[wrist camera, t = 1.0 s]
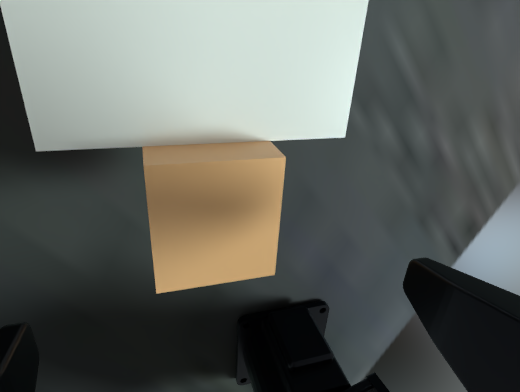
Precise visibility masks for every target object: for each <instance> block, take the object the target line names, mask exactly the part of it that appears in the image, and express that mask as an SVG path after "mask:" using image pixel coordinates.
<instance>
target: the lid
mask: <svg viewBox="0 0 520 392" xmlns="http://www.w3.org/2000/svg"><path fill="white" fill-rule="evenodd" d="M0 6H1V10H2V15H3V19H4V23H5V27H6V31H7V35H8V39H9V43H10V47H11V51H12V55H13V60H14V64H15V68H16V72H17V76H18V80H19V84H20V88H21V92H22V96H23V100H24V104H25V109H26V113H27V117H28V121H29V125H30V129H31V133H32V137H33V141H34V145H35V149H36V151H57V150H79V149H101V148H123V147H143V164H144V175H145V185H146V195H147V205H148V215H149V225H150V234H151V244H152V254H153V264H154V274H155V284H156V294H158V293H164V292H170V291H177V290H183V289H189V288H195V287H202V286H208V285H214V284H220V283H227V282H233V281H239V280H245V279H252V278H258V277H264V276H270V275H275V267H276V256H277V246H278V235H279V225H280V214H281V204H282V193H283V183H284V172H285V162H286V157H285V156H284V155H283V154H282V153H281V152H280V151H279V150H278V149H277V148H276V147H275V146H274V145H273V144H272V143H271V142H270V141H277V140H299V139H321V138H343V137H345V134H346V129H347V123H348V117H349V111H350V105H351V99H352V94H353V88H354V82H355V76H356V70H357V64H358V58H359V53H360V47H361V41H362V35H363V29H364V23H365V18H366V12H367V6H368V0H0Z"/></svg>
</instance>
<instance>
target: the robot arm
mask: <svg viewBox="0 0 520 392" xmlns="http://www.w3.org/2000/svg"><path fill="white" fill-rule="evenodd" d="M403 289H404V292H405V294H406V296H407V297H408V299H409V301H410V303H411V304H412V306H413V308H414V310H415V311H416V313H417V315H418V316H419V318H420V320H421V322H422V323H423V325H424V327H425V329H426V330H427V332H428V334H429V335H430V337H431V339H432V341H433V342H434V344H435V345H436V347H437V348H438V350H439V351H440V353H441V354H442V356H443V357H444V358H445V360H446V361H447V363H448V364H449V365H450V367H451V368H452V370H453V371H454V373H455V374H456V375H457V377H458V378H459V380H460V381H461V383H462V384H463V386H464V387H465V388H466V390H467V391H468V392H520V296H519V295H516V294H514V293H511V292H509V291H506V290H504V289H501V288H499V287H497V286H494V285H492V284H489V283H487V282H485V281H482V280H480V279H477V278H475V277H472V276H470V275H467V274H465V273H463V272H460V271H458V270H455V269H453V268H451V267H448V266H446V265H443V264H441V263H438V262H436V261H434V260H431V259H429V258H418V259H413V260H411V261H410V262H409V265H408V268H407V271H406V275H405V278H404V281H403ZM328 313H329V306H328V305H327V303H326V302H325V301H319V302H314V303H309V304H303V305H298V306H293V307H287V308H282V309H277V310H272V311H266V312H261V313H256V314H251V315H245V316H242V317H241V318H240V319H239V320H238V324H237V351H236V381H237V384H238V385H245V384H249V383H251V384H252V388H253V391H254V392H389V390H388V389H387V388H386V386H385V385H384V384H383V383H382V381H381V380H380V379H379V377H378V376H377V375H376V373H372V374H370V375H368V376H366V377H367V378H366V379H364V380H363V381H361V382H359V383H357V384H355V385H353V386H351V385H350V383H349V381H348V380H347V378H346V376H345V374H344V372H343V371H342V369H341V367H340V365H339V364H338V362H337V360H336V358H335V357H334V354H333V352H332V350H331V349H330V347H329V345H328V343H327V341H326V340H325V338H324V333H325V328H326V323H327V318H328ZM245 323H246V324H245ZM38 365H39V352H38V348H37V345H36V342H35V339H34V336H33V332H32V329H31V327H30V325H29V324H28V323H25V322H23V323H17V324H11V325H6V326H3V327H2V328H1V329H0V392H35V387H36V379H37V372H38Z"/></svg>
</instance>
